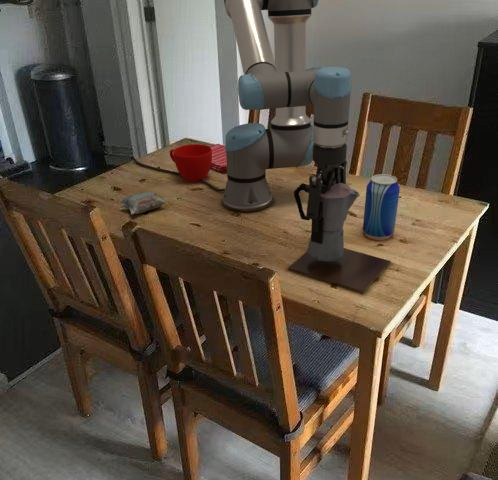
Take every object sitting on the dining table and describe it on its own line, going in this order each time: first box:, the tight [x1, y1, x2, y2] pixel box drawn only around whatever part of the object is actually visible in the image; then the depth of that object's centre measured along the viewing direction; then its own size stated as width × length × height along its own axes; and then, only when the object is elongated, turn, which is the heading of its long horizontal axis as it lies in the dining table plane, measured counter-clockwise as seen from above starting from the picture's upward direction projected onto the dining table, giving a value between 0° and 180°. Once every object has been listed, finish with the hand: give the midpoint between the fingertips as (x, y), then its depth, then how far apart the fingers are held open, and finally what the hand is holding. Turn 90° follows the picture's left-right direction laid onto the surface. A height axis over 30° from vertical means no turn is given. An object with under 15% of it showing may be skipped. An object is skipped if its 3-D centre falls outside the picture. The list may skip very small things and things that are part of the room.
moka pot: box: [293, 178, 361, 262], centre depth 129 cm, size 10×15×20 cm, turn 78°
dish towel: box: [208, 143, 227, 174], centre depth 200 cm, size 17×24×3 cm
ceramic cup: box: [169, 143, 212, 183], centre depth 185 cm, size 13×17×10 cm
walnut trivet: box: [287, 247, 391, 295], centre depth 134 cm, size 20×16×1 cm
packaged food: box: [119, 190, 168, 216], centre depth 165 cm, size 9×12×5 cm
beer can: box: [362, 173, 401, 241], centre depth 143 cm, size 8×8×16 cm
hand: (325, 234), depth 132 cm, fingers closed on moka pot, 8 cm apart
